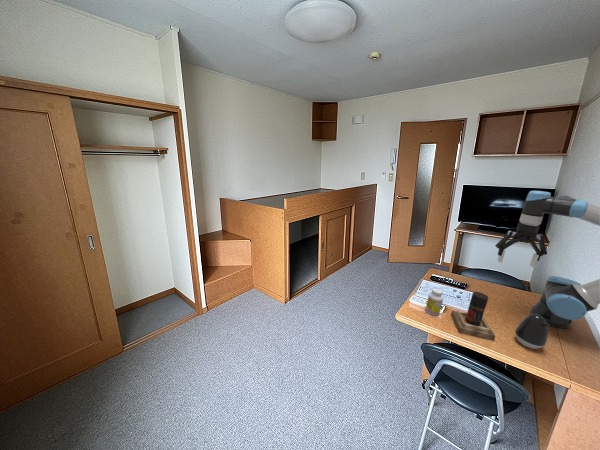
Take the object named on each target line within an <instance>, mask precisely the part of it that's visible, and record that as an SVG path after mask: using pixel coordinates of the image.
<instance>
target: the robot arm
mask: <svg viewBox="0 0 600 450" xmlns="http://www.w3.org/2000/svg"><path fill="white" fill-rule="evenodd" d="M551 195H552V193H551V192H548V191H543V190H542V191H541V190H530V191H529V192H528V193H527V196H526V198H525V202H524V204H523V205H524V206H523V208H522V211H521V214H520V217H519V222H518V224H517V226H516V230H515V231H512V230H508V231H507V232H506V234H505V235H504V236H503V237H502V238H501V239H500V240H499V241H498V242H497V243H496V244H495V247H496V248H497V249H498V252H497V255H498V257H497V261H498V262H499V263H501V264H502V263H503V261H504V257H505V254H506V249H508V248H509V247H511V246H512V245H515V244H516V243H519V242H520V243H526V244H528V243H529V244H530V246H531V247H532V249H533V250H534V251H535V253H533V255H532V257H531V260H530V263H529V266H530V267H532V268H535V267H536V264H537V262H539V261H540V259H541V257H543V256H544V255H545V256H546V255H548V252H547V247H546V244H545V241H544V240H545V235H543V234H541V233H540V234H538V232H539V230H540V225H541V224H542V221H543V218H544V216H545V214H548V215H556V216H561V217H562V216H563V217H567V218H576V219H580V220H582V221H585V222H587V223H589V224H593V225H595V226H599V227H600V206H598V205H595V204H592V203H589V202H588V201H587V200H580V199H576V198H573V197H571V196H568V195H557V196H555V197H554V196H551ZM511 237H512V238H511ZM535 239H537V242H538V245H537V244H536V242H535ZM538 246H539V247H538ZM599 305H600V278H599V279H595V280H593V281H590V282H587V283H584V284H581V283H579V282H578V281H575V280H572V279H569V278H565V277H561V276H557V275H550V276H549V277H547V279H546V283H545V285H544V288H543V290H542V293H541V296H540V298H539V300H538V301H537V302H536V303H535V304H534V305H533V306H532V307H531V309H530V311H529V312H530V315H531V314H538V315H541V316H542V317H543V318H544V319H545V320H546V323H547V324H549V325H550V327H551V326H552V327H555V328H560V329H570V328H571V326H572V324H573V321H574V320H575V321H576V320H580V319H582V318H584V317H585V316H586V315H587V313H588V312H591V311H594V310H597V309H598V307H599Z"/></svg>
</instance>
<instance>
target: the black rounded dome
mask: <svg viewBox="0 0 600 450" xmlns="http://www.w3.org/2000/svg"><path fill="white" fill-rule="evenodd" d="M549 327H551V325H549V324H547V323H546V320H545V319H544V318H543V317H542V316H541V315H538V314H531V313H530V314H528V315H527V316H525V317H524V318H523V319H522V320H521V321H520V322H519V324H518V325H517V326H516V328H515V331H514V332H515V337H516V339H517V341H518V342H519V343H520V344H521V345H523V346H525V347H527V348H528V349H529V348H530V349H533V350H539V349H542V348H544V347H545V346H546V345H547V343H548V337H549V329H548V328H549Z"/></svg>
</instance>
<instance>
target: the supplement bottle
mask: <svg viewBox="0 0 600 450" xmlns="http://www.w3.org/2000/svg"><path fill="white" fill-rule="evenodd" d="M426 301H427V302H426V305H425V311H426V312H427V313H428V314H429V315H432V316H439V315H440V313H441V309H442V305H443V302H444V297H443V290H441V289H440V288H436V287H435V288H432V289H431V292H430V293H429V294H428V298H427V300H426Z"/></svg>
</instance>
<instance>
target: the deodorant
mask: <svg viewBox="0 0 600 450" xmlns="http://www.w3.org/2000/svg"><path fill="white" fill-rule="evenodd" d="M488 301H489V296H488V295H487V294H485V293H482V292H480V291H473V292H472V295H471V298H470V302H469V306H468V308H467V315H466V318H465V321H466V322H467V323H468V324H470V325H475V326H480V323H481V320H482V317H484V314H485V310H486V308H487V307H486V306H487V305H488Z"/></svg>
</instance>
